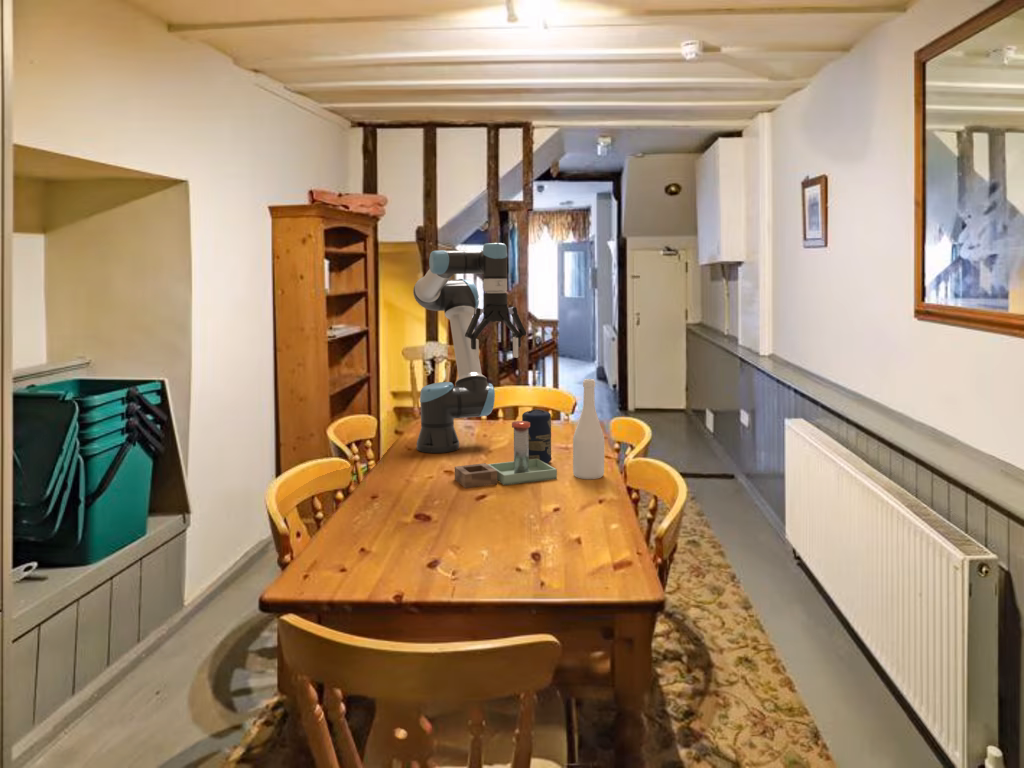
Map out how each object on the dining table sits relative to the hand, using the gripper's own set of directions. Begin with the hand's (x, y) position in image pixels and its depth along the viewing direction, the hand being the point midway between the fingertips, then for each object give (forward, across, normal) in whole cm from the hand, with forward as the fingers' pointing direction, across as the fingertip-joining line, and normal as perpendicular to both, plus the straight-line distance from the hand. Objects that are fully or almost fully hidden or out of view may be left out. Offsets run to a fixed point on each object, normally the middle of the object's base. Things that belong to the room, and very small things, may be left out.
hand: (496, 358), depth 241 cm
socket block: (+35, -14, -18) cm, 42 cm away
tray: (+35, +1, -18) cm, 39 cm away
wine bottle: (+35, +20, -26) cm, 48 cm away
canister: (+35, +12, -5) cm, 37 cm away
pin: (+34, +1, -18) cm, 39 cm away
